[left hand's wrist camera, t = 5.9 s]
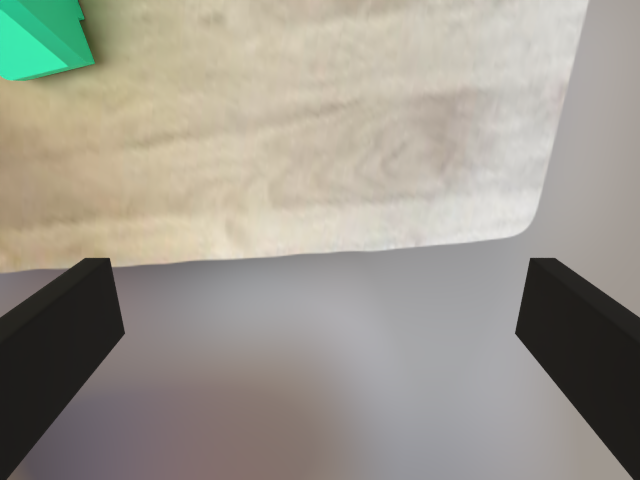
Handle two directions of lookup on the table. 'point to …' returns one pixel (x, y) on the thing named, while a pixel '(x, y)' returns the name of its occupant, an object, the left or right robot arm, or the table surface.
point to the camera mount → (41, 38)
